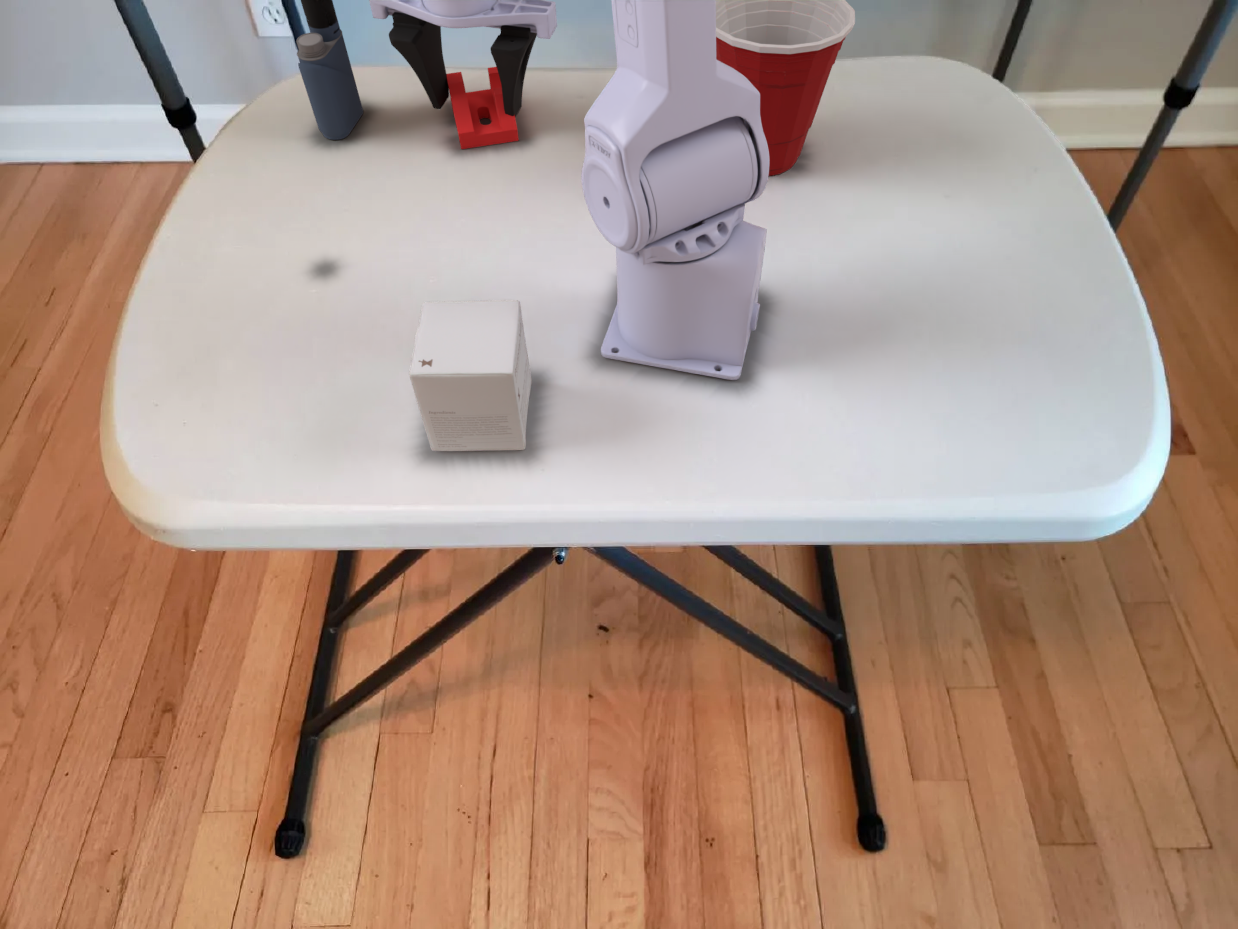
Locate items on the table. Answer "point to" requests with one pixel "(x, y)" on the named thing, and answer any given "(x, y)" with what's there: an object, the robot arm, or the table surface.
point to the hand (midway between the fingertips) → (478, 107)
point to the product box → (472, 375)
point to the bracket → (481, 112)
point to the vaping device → (328, 71)
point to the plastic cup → (783, 62)
